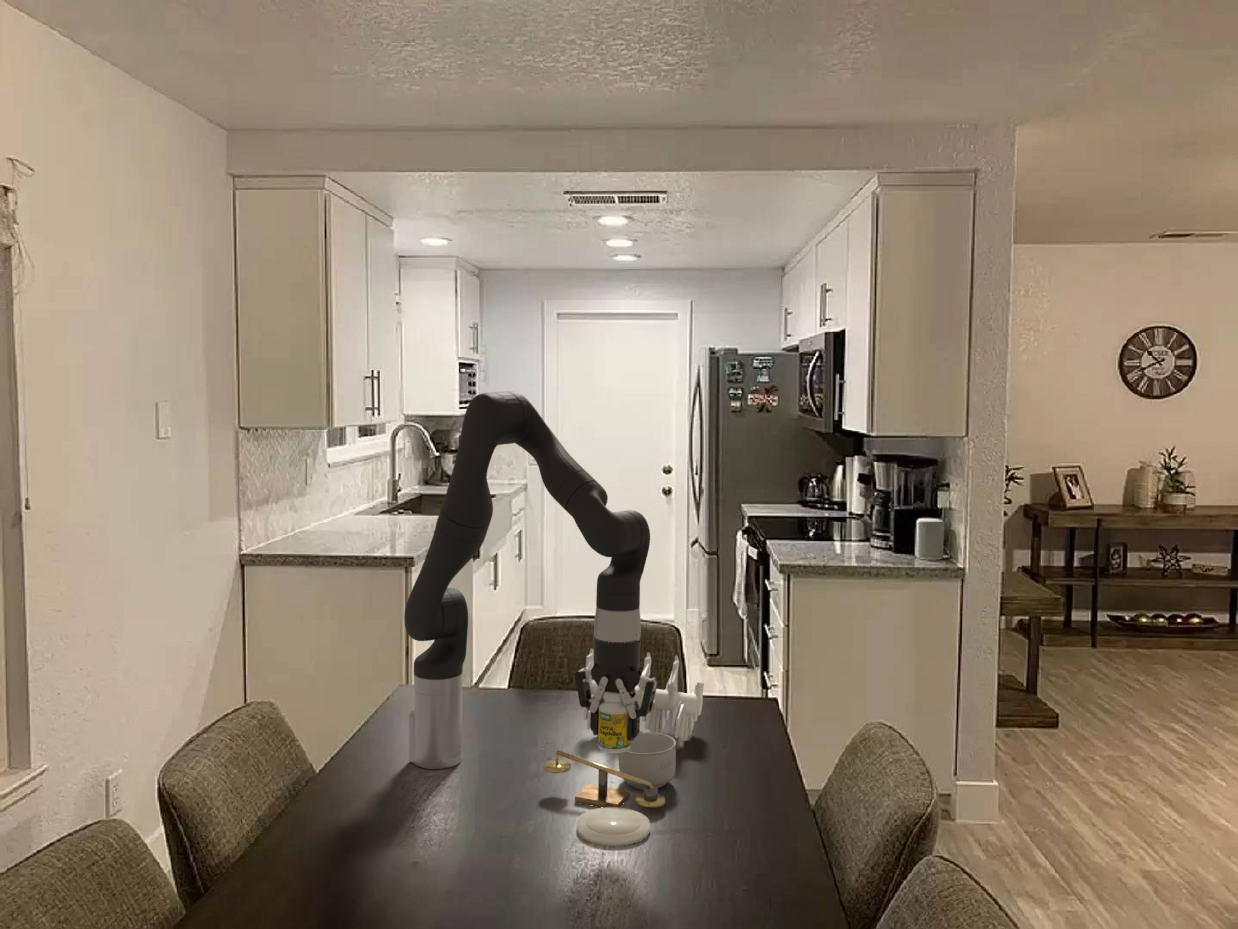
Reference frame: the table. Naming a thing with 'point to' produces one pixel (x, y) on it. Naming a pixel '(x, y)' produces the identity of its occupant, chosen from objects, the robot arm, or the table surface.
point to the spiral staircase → (662, 702)
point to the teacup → (649, 759)
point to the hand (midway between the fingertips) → (614, 736)
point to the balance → (605, 785)
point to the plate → (613, 826)
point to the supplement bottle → (613, 724)
